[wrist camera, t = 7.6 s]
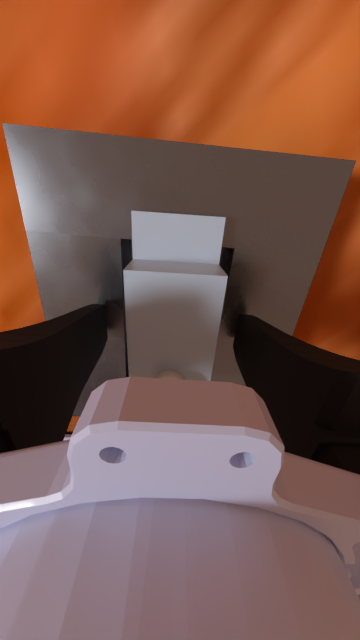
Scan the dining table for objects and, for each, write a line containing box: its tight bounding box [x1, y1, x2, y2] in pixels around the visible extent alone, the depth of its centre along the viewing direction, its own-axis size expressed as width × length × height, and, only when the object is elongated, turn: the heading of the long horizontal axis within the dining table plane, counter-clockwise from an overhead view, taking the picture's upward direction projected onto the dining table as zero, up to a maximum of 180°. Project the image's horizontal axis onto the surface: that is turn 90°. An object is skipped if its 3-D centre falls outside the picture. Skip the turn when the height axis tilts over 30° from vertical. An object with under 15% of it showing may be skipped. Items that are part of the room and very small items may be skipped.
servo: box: [123, 211, 228, 381], centre depth 12 cm, size 11×4×6 cm, turn 176°
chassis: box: [2, 123, 356, 416], centre depth 14 cm, size 16×14×3 cm
